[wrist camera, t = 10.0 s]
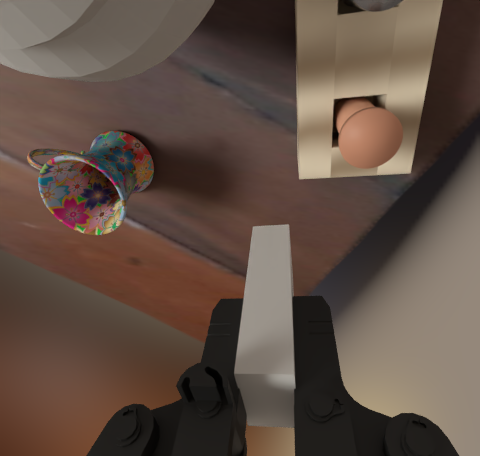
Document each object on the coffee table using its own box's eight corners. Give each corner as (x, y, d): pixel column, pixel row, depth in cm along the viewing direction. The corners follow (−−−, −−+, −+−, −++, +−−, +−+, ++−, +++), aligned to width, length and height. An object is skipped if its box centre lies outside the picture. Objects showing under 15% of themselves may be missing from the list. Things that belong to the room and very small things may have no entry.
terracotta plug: (328, 91, 32) (341, 112, 24) (379, 85, 31) (407, 106, 24) (326, 138, 34) (337, 170, 27) (373, 134, 33) (398, 167, 26)
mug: (169, 150, 40) (137, 186, 31) (145, 203, 45) (111, 248, 36) (79, 98, 38) (16, 122, 29) (64, 161, 43) (6, 197, 34)
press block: (293, -89, 27) (295, -114, 22) (434, -116, 25) (471, -151, 20) (297, 158, 38) (299, 179, 34) (393, 152, 37) (410, 173, 32)
